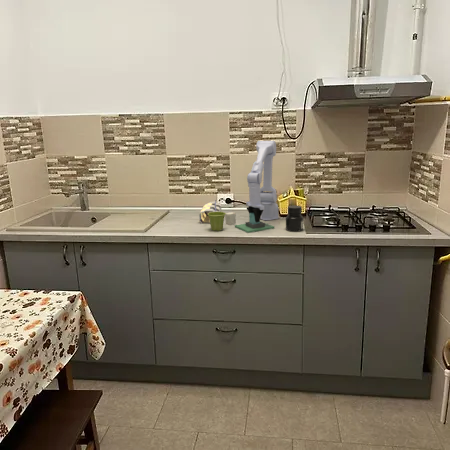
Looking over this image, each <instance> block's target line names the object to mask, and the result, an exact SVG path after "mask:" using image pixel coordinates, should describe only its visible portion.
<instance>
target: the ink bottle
mask: <svg viewBox="0 0 450 450" xmlns="http://www.w3.org/2000/svg"><path fill="white" fill-rule="evenodd" d="M285 230H286V231H288V232H301V231H303V230H304V216H303V215H302V206H301V205H289V206H288V207H287V216H285Z"/></svg>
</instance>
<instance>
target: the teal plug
mask: <svg viewBox="0 0 450 450" xmlns="http://www.w3.org/2000/svg"><path fill="white" fill-rule="evenodd" d="M248 214H249V216H248V218H249V220H248V222H249V223H251V224H259V223H260V222H255V215H254V212H253V213H249V212H248Z"/></svg>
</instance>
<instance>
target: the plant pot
mask: <svg viewBox="0 0 450 450" xmlns="http://www.w3.org/2000/svg"><path fill="white" fill-rule="evenodd" d="M226 213H227V212H223V211H221V212H210V213H208V214H207V216H208V218H209V224H210V230H211V231H214V232H215V231H218V232H219V231H220V232H221V231H222V230H223V229H224V224H225V223H224V222H225V214H226Z"/></svg>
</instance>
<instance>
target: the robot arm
mask: <svg viewBox="0 0 450 450" xmlns="http://www.w3.org/2000/svg"><path fill="white" fill-rule="evenodd" d="M256 152H257V155H256V156H257V157H256V160H255V161H254V162H253V164H252V167H251V170H250V172H249V173H248V174H247V177H246V179H247V180H246V181H247V186H248V188H249V189H248V191H249V192H248V193H249V194H248V195H249V196H248V197H249V199H248V200H249V201H245V202H246V204H245V205H246V206H247V207H246V210H247V212H248V214H249V213H253V212H254V215H255V222H260V221H261V220H263V221H265V222H266V221H272V220H278V219H280V217H279V206H278V205H279V204H278V203H277V200H278V199H277V198H278V195H277V189H276V188H275V187H273V159H274V157H275V156H276V155H277V142H276V141H275V140H258V141H257V142H256ZM262 181H263V183H262ZM261 183H262V185H263V186H262V187H261Z"/></svg>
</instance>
